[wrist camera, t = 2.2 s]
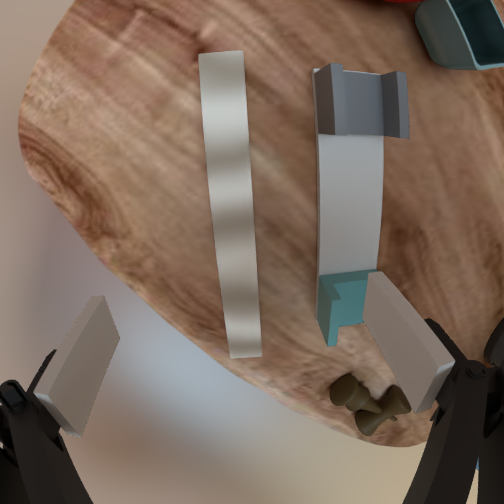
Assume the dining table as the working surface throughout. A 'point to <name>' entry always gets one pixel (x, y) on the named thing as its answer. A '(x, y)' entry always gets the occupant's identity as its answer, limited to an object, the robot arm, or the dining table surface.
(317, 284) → the long grey teal holder
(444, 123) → the dining table surface
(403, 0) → the ceramic cup
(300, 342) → the dining table surface
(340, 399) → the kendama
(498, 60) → the flower pot
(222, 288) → the grey white bar
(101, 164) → the dining table surface
